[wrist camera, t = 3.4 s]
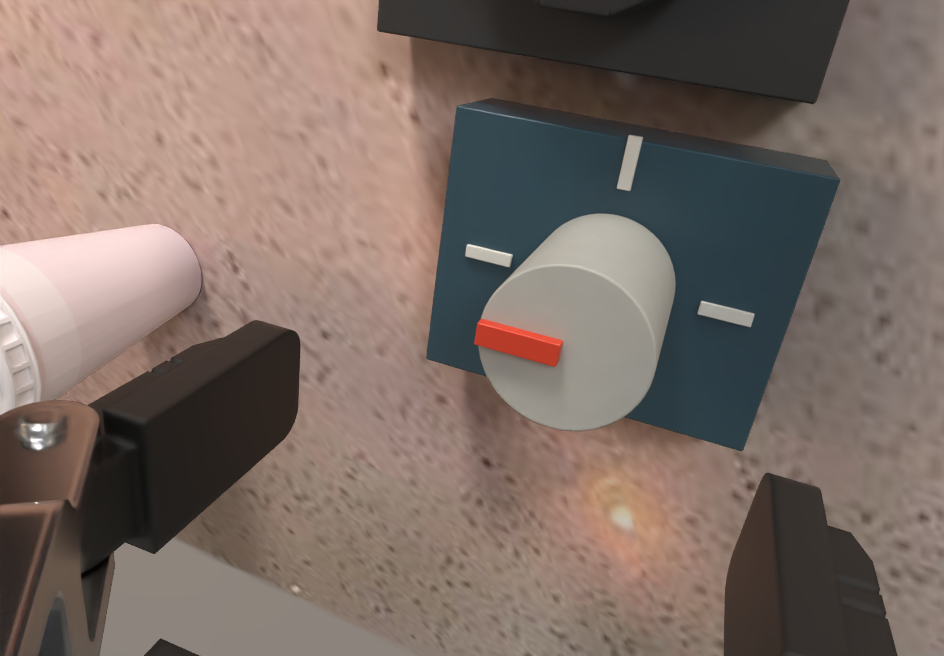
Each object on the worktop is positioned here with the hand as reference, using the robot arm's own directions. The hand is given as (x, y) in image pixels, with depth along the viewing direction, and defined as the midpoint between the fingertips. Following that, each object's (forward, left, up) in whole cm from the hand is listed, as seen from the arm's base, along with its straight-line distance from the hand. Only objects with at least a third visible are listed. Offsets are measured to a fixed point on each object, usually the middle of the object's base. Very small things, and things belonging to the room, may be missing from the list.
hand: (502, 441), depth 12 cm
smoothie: (+18, +5, -12) cm, 22 cm away
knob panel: (0, 0, -12) cm, 12 cm away
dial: (0, 0, -9) cm, 9 cm away
